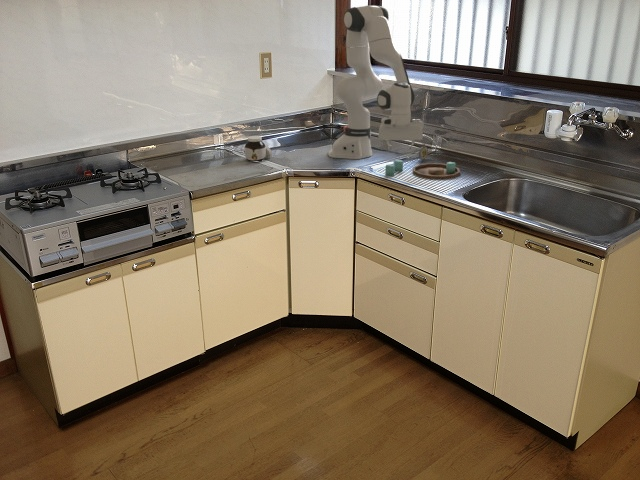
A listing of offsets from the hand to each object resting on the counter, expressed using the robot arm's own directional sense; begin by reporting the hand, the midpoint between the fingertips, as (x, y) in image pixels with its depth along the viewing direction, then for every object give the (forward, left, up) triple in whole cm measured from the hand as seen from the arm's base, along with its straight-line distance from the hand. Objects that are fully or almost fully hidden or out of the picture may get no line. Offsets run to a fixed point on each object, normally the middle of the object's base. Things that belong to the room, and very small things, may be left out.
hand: (400, 149), depth 287 cm
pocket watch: (+14, +16, -10) cm, 23 cm away
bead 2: (0, +1, -10) cm, 10 cm away
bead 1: (-4, -7, -10) cm, 13 cm away
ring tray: (+17, -4, -10) cm, 20 cm away
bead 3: (+23, -4, -9) cm, 25 cm away
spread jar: (-69, +15, -10) cm, 72 cm away
